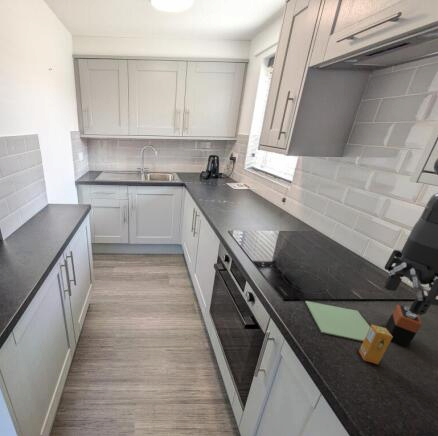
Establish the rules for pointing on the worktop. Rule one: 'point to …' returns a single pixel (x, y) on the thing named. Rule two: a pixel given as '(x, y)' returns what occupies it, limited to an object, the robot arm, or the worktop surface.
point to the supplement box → (375, 344)
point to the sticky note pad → (339, 321)
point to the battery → (403, 325)
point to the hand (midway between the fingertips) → (401, 300)
